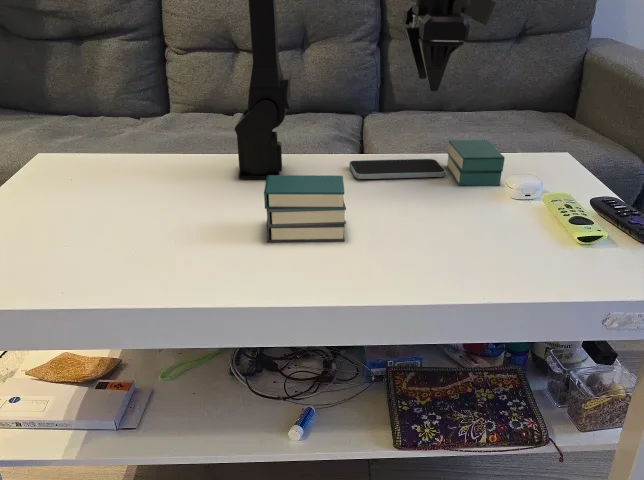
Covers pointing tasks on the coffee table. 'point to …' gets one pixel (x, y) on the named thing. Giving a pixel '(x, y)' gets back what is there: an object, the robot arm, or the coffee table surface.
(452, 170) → the teal book
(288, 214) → the grey book
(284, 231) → the grey book
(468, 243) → the coffee table surface
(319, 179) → the teal book
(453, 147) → the teal book
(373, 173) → the smartphone
